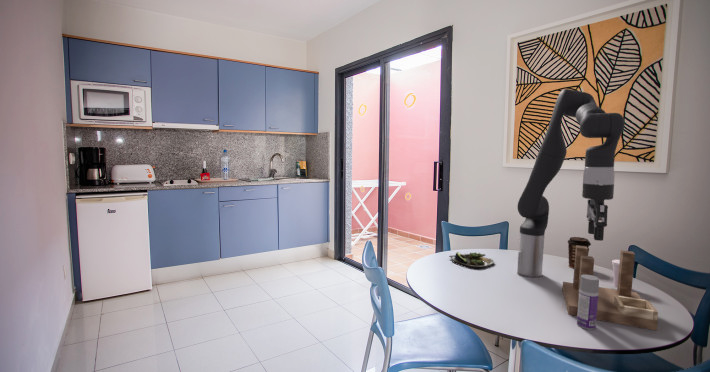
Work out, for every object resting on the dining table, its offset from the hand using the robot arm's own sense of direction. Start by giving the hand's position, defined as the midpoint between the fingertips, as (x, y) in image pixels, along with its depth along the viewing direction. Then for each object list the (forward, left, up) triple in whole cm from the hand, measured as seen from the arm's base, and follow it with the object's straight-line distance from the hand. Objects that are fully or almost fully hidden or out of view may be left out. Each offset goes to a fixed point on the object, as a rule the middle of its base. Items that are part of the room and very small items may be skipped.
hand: (595, 236), depth 104 cm
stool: (+6, +14, -26) cm, 30 cm away
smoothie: (+15, +38, -27) cm, 48 cm away
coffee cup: (+3, +56, -27) cm, 62 cm away
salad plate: (-40, +42, -27) cm, 64 cm away
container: (-1, -3, -27) cm, 27 cm away
